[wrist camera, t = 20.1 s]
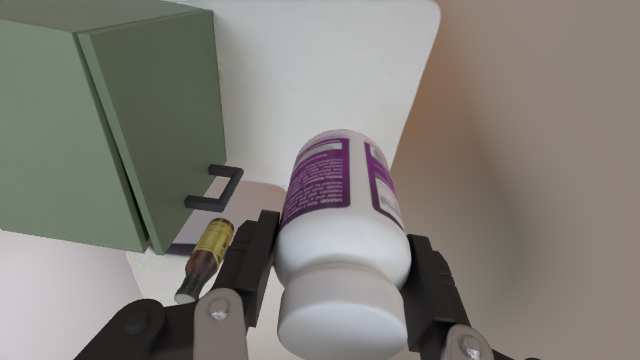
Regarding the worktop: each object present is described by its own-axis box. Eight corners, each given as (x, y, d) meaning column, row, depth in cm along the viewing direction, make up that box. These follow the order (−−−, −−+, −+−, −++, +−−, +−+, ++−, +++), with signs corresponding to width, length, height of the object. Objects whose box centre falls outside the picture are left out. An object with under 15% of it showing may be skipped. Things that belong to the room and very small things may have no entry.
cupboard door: (250, 16, 40) (164, 46, 21) (254, 164, 55) (206, 261, 36) (205, 9, 40) (76, 33, 21) (221, 160, 55) (156, 254, 36)
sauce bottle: (230, 238, 69) (195, 315, 53) (206, 227, 67) (163, 304, 51) (240, 222, 65) (206, 300, 49) (215, 211, 64) (172, 288, 48)
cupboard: (204, 8, 40) (71, 32, 20) (214, 158, 55) (143, 253, 36) (78, -17, 39) (-184, -17, 20) (124, 142, 54) (1, 230, 35)
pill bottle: (292, 196, 18) (251, 365, 10) (299, 119, 14) (249, 276, 7) (374, 208, 18) (399, 385, 10) (399, 134, 15) (465, 307, 7)
